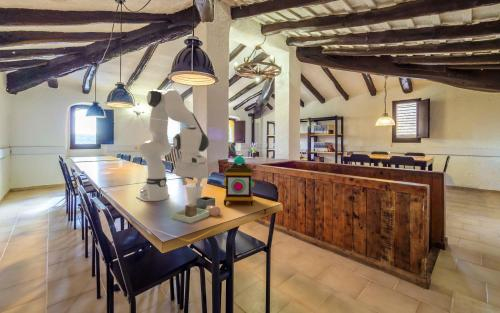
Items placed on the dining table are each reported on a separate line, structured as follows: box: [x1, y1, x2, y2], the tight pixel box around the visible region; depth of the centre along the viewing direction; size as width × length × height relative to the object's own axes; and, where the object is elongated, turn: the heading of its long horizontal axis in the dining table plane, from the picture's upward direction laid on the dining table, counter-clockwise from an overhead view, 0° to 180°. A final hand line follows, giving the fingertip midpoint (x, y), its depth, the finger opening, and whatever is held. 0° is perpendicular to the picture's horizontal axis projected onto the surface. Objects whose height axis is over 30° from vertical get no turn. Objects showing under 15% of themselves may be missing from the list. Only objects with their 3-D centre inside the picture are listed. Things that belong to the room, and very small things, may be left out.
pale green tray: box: [171, 208, 211, 224], centre depth 121 cm, size 13×13×3 cm
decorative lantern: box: [223, 155, 256, 207], centre depth 150 cm, size 20×20×30 cm
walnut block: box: [184, 203, 197, 218], centre depth 121 cm, size 4×4×6 cm
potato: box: [205, 205, 221, 217], centre depth 125 cm, size 6×5×5 cm
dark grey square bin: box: [197, 196, 216, 210], centre depth 133 cm, size 7×7×7 cm
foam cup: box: [185, 183, 203, 205], centre depth 140 cm, size 10×9×13 cm
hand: (191, 185), depth 120 cm, fingers open, 8 cm apart
